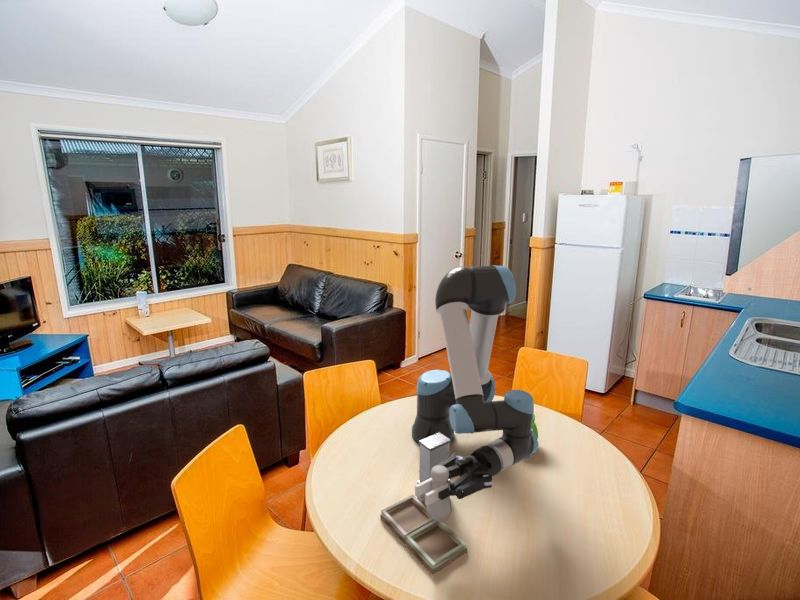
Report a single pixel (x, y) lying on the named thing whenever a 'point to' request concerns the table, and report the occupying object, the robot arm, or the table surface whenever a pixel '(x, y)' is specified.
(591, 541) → the table surface
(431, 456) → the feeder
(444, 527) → the grey brown flat rectangle
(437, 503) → the salt shaker
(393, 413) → the table surface
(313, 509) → the table surface
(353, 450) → the table surface
